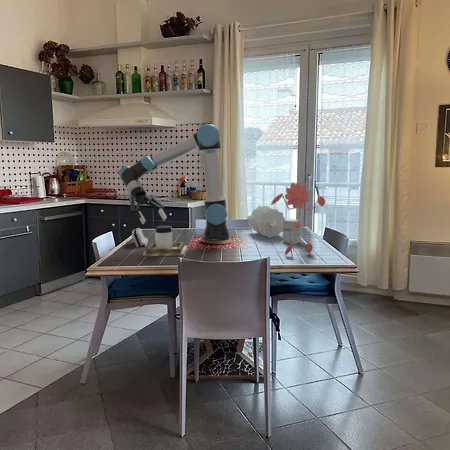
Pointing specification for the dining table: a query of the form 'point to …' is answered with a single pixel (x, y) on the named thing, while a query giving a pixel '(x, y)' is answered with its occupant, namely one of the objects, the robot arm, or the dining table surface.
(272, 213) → the grey rounded scaly piece
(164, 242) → the jar
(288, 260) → the dining table surface
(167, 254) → the jar stand
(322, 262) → the dining table surface
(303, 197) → the figurine
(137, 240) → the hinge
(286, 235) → the supplement box
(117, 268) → the dining table surface
